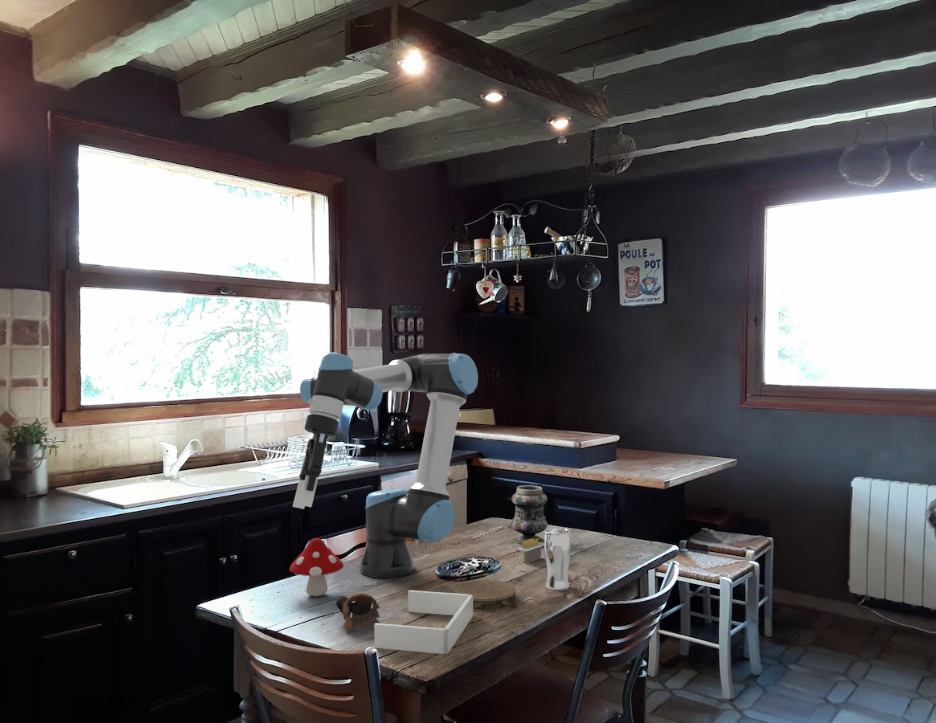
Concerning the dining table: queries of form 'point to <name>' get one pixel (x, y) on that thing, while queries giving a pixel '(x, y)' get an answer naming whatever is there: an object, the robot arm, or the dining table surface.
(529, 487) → the apothecary jar
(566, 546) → the beer glass
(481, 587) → the wood slice
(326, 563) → the decorative mushroom
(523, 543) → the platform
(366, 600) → the pottery mug
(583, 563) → the dining table surface
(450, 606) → the bin
